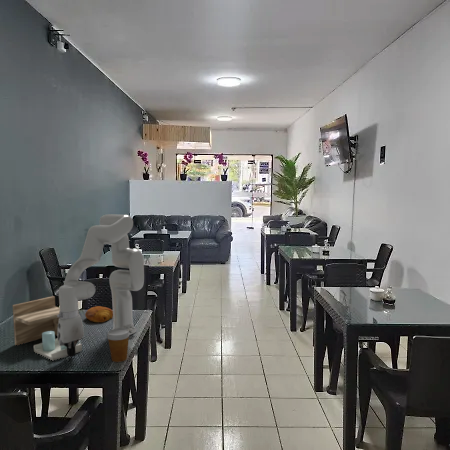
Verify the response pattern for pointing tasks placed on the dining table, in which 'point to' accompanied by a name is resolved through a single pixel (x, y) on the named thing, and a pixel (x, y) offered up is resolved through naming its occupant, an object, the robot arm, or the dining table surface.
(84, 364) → the dining table surface
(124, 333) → the disposable coffee cup
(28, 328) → the wooden stand
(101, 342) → the dining table surface
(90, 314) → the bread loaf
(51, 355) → the tray
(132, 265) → the robot arm
